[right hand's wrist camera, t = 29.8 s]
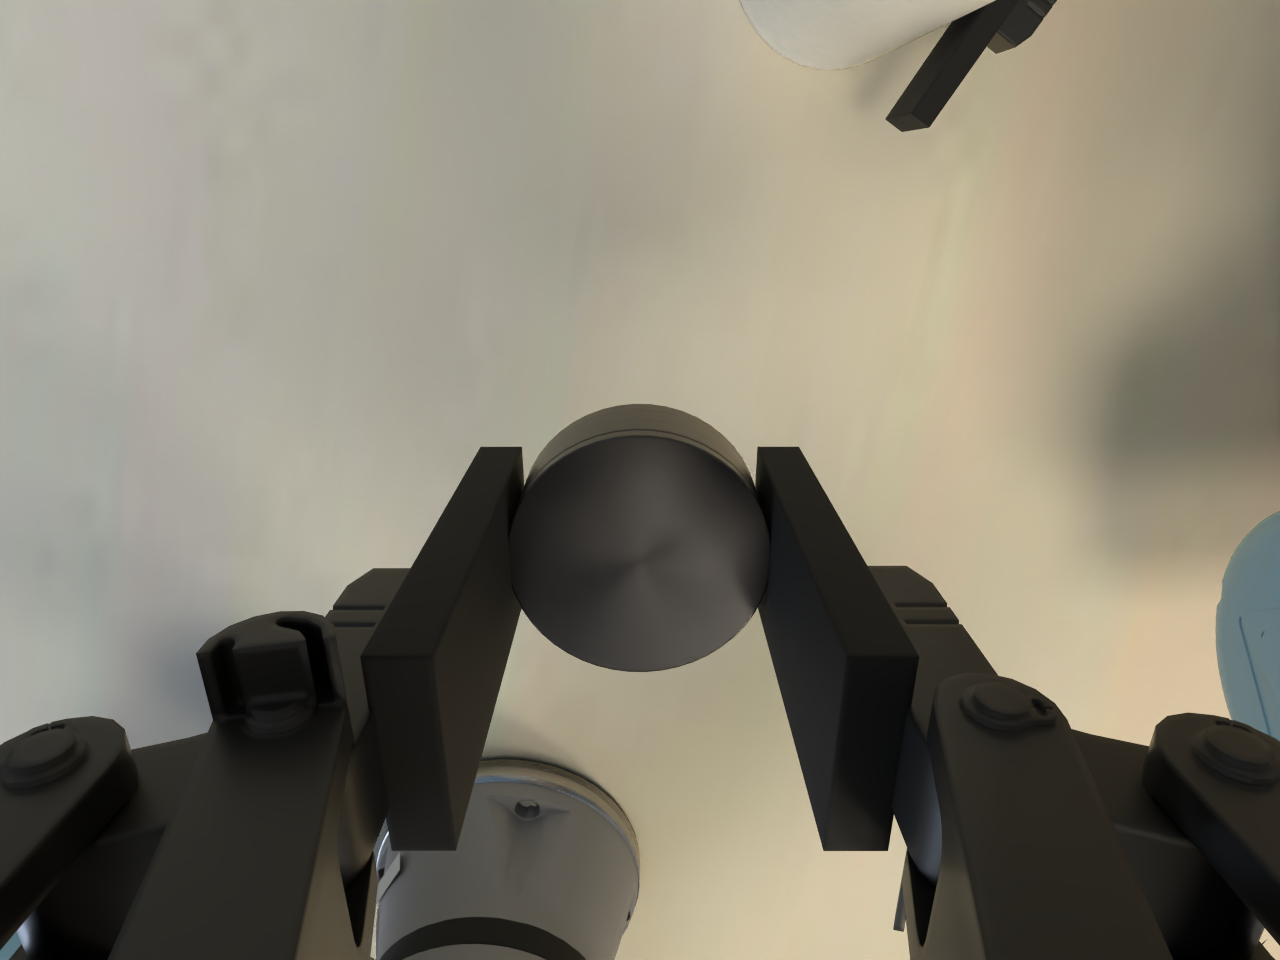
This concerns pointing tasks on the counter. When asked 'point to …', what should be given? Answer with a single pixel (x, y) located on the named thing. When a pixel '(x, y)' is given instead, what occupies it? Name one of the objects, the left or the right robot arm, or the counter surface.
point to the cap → (639, 540)
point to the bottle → (848, 27)
